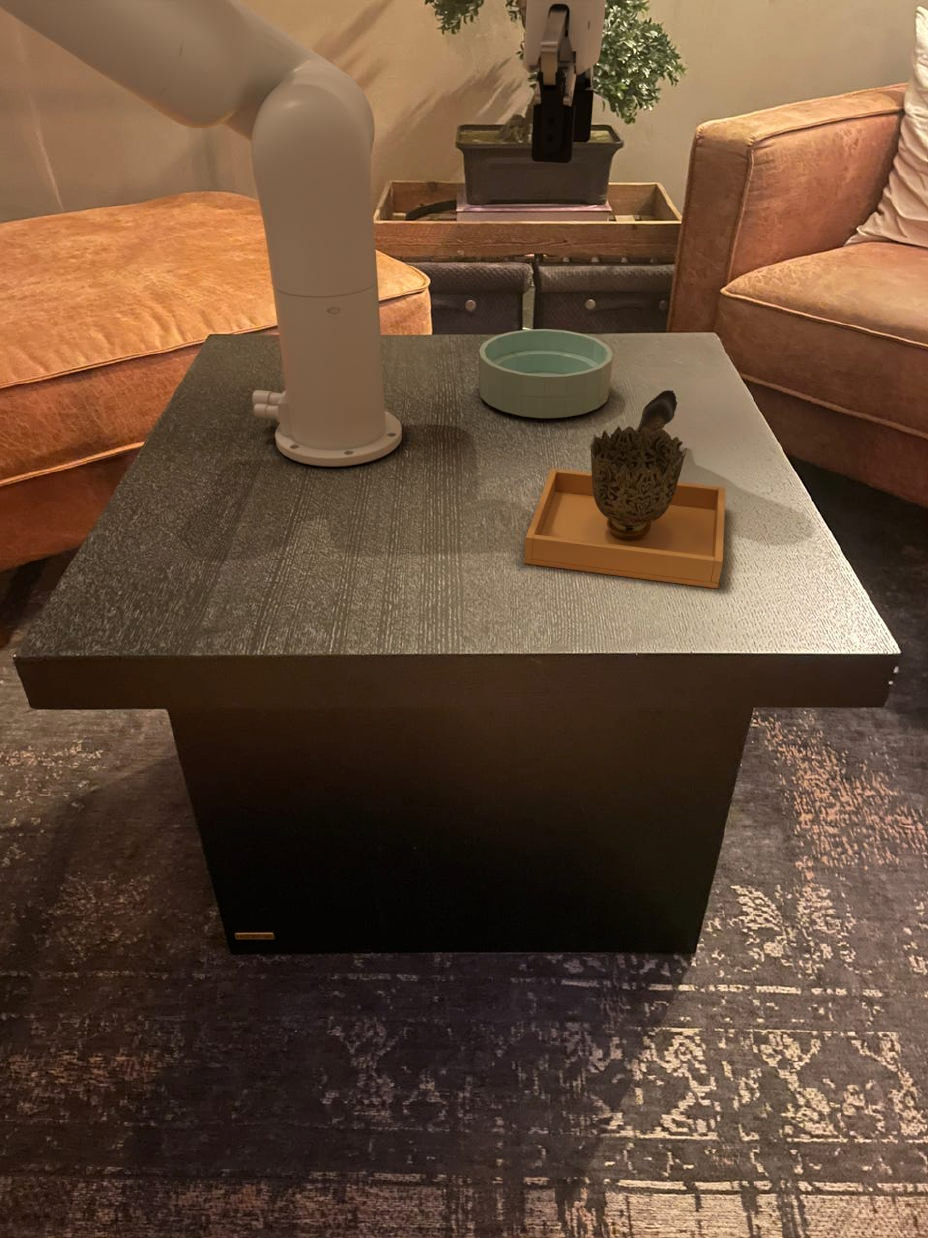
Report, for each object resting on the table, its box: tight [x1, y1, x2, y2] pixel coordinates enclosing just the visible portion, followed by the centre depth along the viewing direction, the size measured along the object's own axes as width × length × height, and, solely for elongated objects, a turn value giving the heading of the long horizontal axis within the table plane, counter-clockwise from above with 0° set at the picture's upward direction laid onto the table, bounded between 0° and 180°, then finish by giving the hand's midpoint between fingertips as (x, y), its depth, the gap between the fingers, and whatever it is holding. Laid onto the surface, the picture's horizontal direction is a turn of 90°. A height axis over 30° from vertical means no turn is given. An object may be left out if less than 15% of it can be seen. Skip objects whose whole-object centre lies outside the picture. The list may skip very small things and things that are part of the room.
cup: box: [589, 425, 688, 540], centre depth 74 cm, size 8×7×8 cm
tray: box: [524, 467, 727, 589], centre depth 76 cm, size 15×12×2 cm
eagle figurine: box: [634, 389, 684, 448], centre depth 86 cm, size 8×7×9 cm
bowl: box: [478, 328, 614, 419], centre depth 100 cm, size 14×14×5 cm
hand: (562, 150), depth 77 cm, fingers open, 9 cm apart
